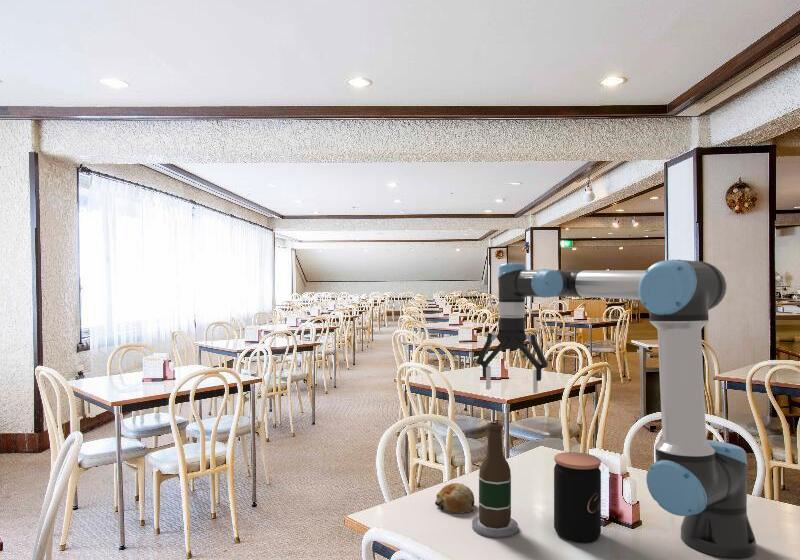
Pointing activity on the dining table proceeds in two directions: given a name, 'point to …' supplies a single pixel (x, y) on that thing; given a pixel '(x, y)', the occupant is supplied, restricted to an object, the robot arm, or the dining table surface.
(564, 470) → the coffee jar
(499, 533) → the dish
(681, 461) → the robot arm
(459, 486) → the bread roll
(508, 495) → the beer bottle
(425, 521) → the dining table surface
